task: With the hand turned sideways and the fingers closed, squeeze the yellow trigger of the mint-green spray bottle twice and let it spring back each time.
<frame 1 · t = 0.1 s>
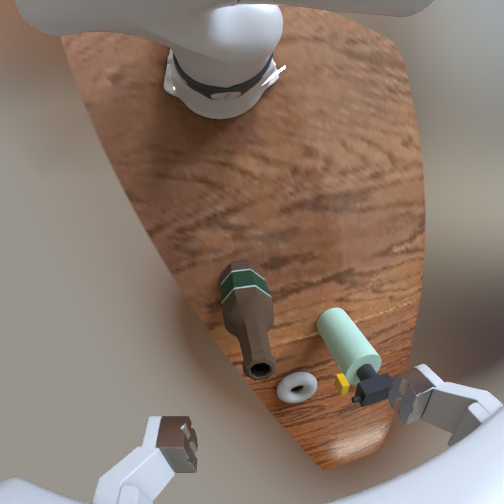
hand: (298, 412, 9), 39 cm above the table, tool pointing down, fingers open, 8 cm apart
trigger: (342, 384, 38), point 18 cm above the table, slide at -0.1 cm
donut: (295, 382, 60), on the table
spray bottle: (331, 321, 55), on the table
beer bottle: (240, 278, 49), on the table
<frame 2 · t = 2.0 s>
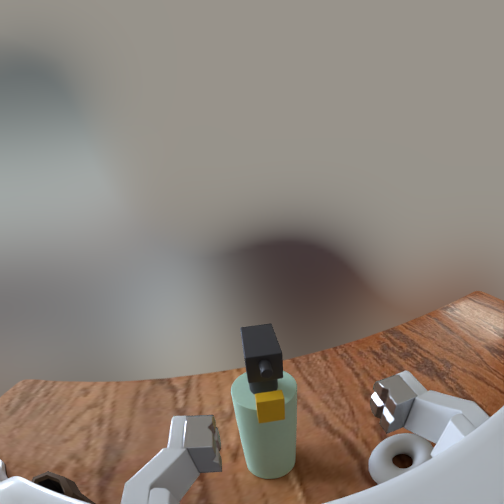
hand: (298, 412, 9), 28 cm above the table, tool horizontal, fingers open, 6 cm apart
trigger: (270, 407, 21), point 18 cm above the table, slide at -0.1 cm
donut: (399, 467, 24), on the table
spray bottle: (270, 460, 30), on the table
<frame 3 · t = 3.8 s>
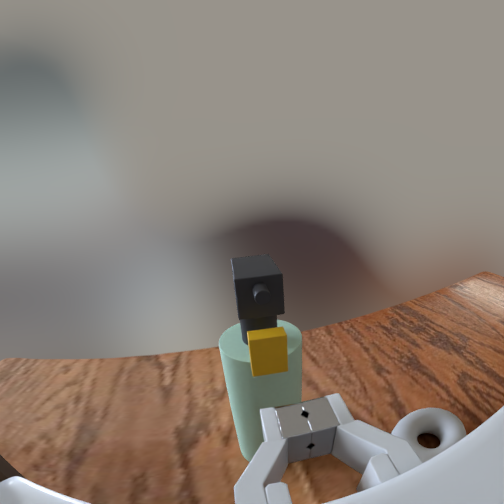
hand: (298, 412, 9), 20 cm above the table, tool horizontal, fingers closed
trigger: (268, 352, 17), point 18 cm above the table, slide at -0.1 cm
donut: (423, 449, 20), on the table
spray bottle: (269, 444, 26), on the table
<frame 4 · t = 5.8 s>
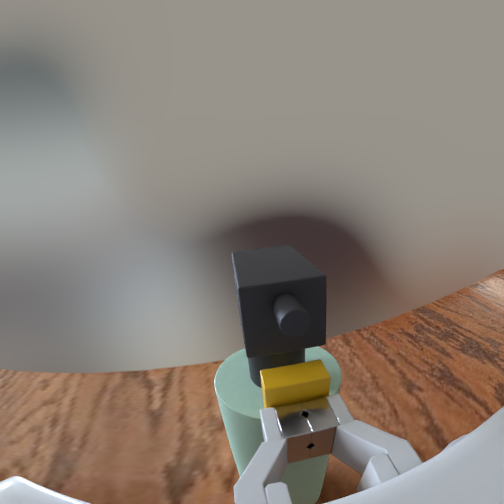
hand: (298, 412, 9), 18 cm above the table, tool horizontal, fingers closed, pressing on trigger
trigger: (295, 401, 9), point 18 cm above the table, slide at 0.7 cm, touching gripper
spray bottle: (283, 489, 18), on the table
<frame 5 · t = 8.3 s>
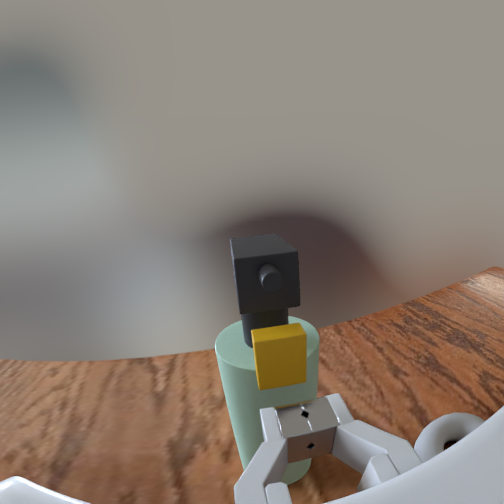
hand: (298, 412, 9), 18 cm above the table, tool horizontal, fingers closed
trigger: (279, 357, 13), point 18 cm above the table, slide at -0.1 cm
donut: (449, 458, 15), on the table
spray bottle: (276, 460, 21), on the table
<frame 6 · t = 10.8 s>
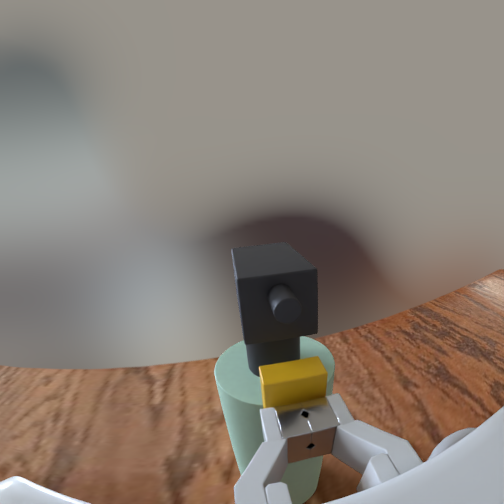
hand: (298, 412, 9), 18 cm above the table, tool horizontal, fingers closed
trigger: (293, 397, 10), point 18 cm above the table, slide at -0.1 cm
donut: (460, 475, 12), on the table
spray bottle: (281, 481, 19), on the table
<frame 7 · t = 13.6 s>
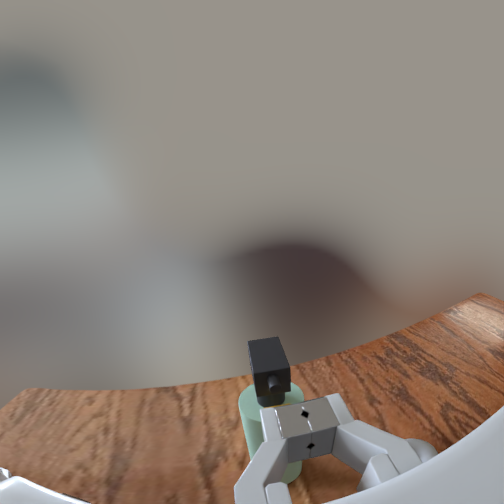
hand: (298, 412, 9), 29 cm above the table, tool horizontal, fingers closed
trigger: (278, 420, 21), point 18 cm above the table, slide at -0.1 cm
donut: (403, 471, 23), on the table
spray bottle: (277, 467, 30), on the table
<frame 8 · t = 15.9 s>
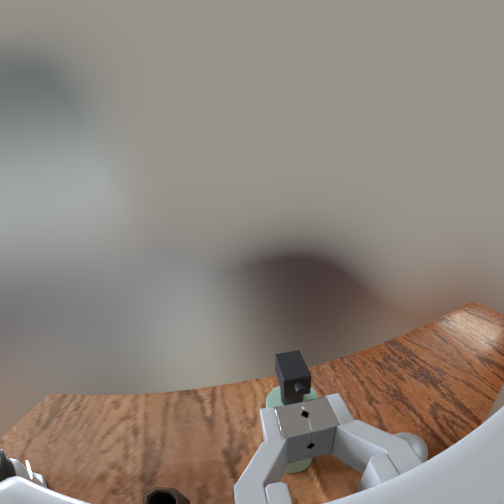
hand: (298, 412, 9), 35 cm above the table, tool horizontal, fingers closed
donut: (398, 460, 30), on the table
spray bottle: (292, 457, 36), on the table
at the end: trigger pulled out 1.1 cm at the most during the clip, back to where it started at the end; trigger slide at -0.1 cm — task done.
